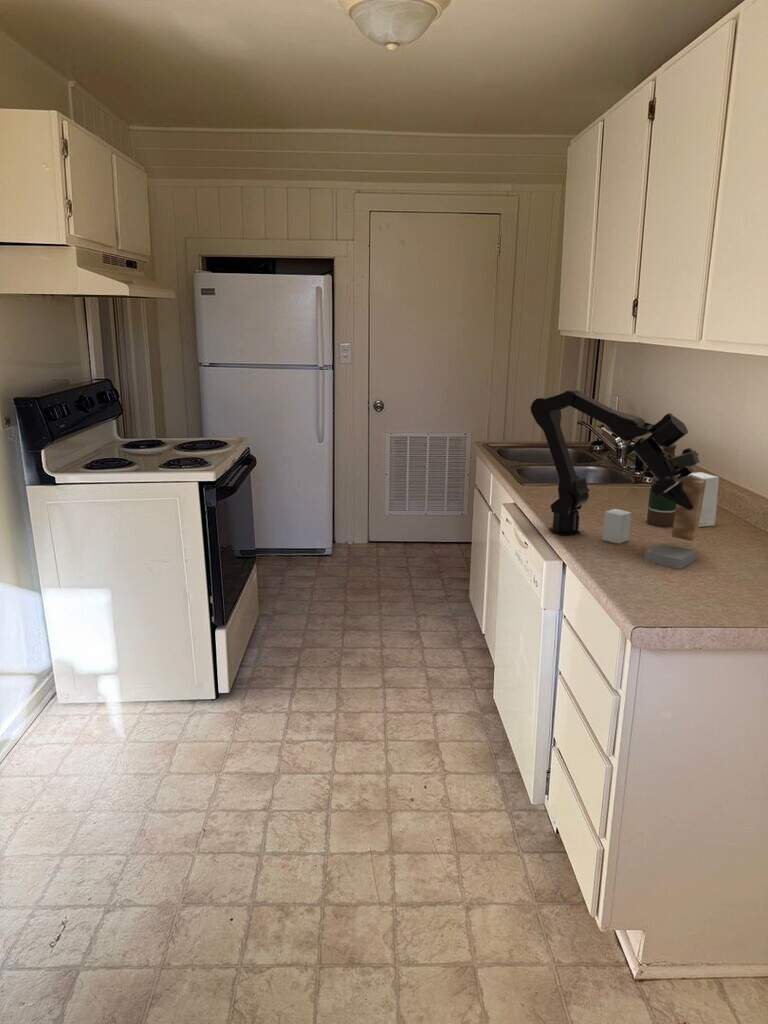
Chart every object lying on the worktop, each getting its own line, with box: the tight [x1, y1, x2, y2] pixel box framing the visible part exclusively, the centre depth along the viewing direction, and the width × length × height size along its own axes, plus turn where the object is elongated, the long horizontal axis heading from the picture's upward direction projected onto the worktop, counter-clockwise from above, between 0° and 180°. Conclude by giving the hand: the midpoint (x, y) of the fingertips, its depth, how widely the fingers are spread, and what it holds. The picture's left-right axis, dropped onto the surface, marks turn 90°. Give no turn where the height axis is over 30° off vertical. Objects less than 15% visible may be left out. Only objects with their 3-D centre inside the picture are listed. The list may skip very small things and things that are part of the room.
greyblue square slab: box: [644, 543, 697, 570], centre depth 178 cm, size 9×9×3 cm
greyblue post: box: [601, 508, 632, 545], centre depth 194 cm, size 5×5×8 cm
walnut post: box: [671, 476, 706, 542], centre depth 178 cm, size 5×5×15 cm
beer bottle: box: [646, 443, 677, 528], centre depth 207 cm, size 8×8×24 cm
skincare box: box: [687, 471, 720, 528], centre depth 209 cm, size 8×6×15 cm
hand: (694, 506), depth 178 cm, fingers closed on walnut post, 5 cm apart
